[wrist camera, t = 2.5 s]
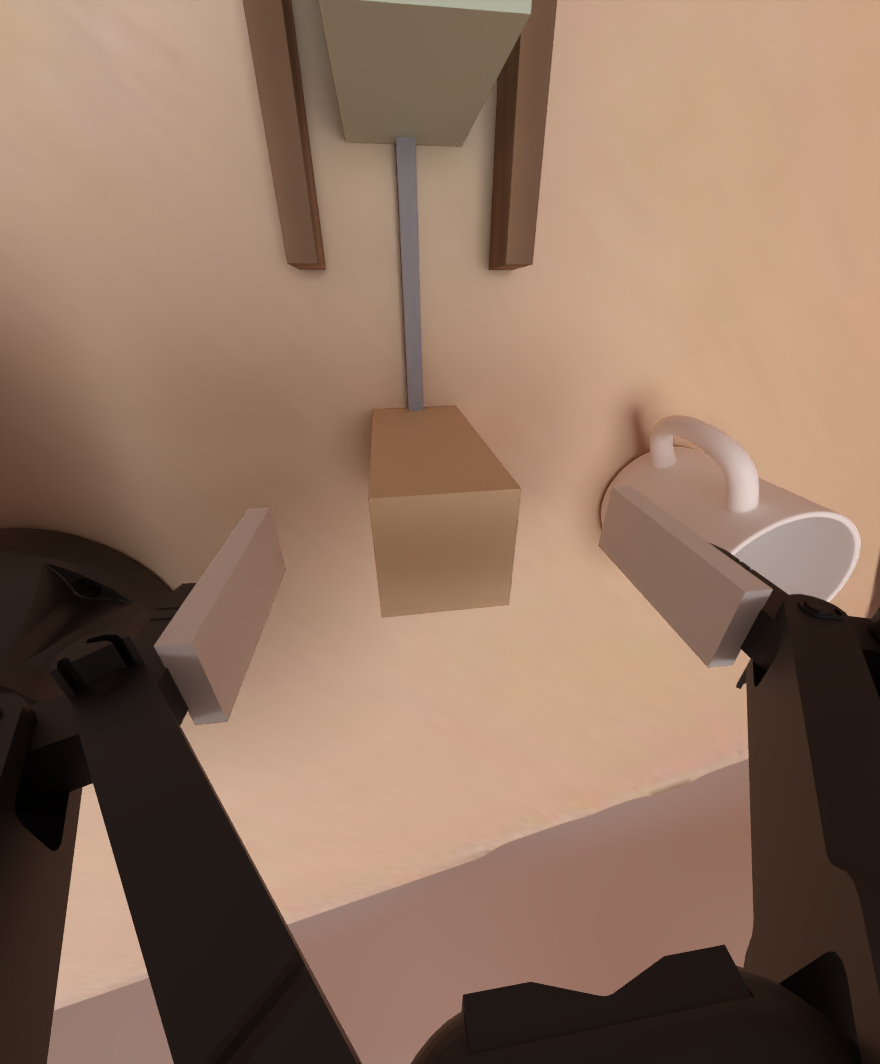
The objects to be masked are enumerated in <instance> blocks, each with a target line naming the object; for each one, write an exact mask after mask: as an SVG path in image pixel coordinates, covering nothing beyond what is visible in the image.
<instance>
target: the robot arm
mask: <svg viewBox="0 0 880 1064" xmlns="http://www.w3.org/2000/svg"><path fill="white" fill-rule="evenodd" d="M598 546H599V547H600V548H601V549H602V550H603V551H604V552H605V553H606V555H607V556H608V557H609V558H610V559H611V560H612V561H613V562H614V563H615V565H616V566H617V567H618V568H619V569H620V570H621V571H622V572H623V573H624V575H625V576H626V577H627V578H628V579H629V580H630V581H631V582H632V583H633V585H634V586H635V587H636V588H637V589H638V590H639V591H640V592H641V594H642V595H643V596H644V597H645V598H646V599H647V600H648V601H649V602H650V604H651V605H652V606H653V607H654V608H655V609H656V610H657V611H658V612H659V614H660V615H661V616H662V617H663V618H664V619H665V620H666V621H667V622H668V624H669V625H670V626H671V627H672V628H673V629H674V630H675V631H676V633H677V634H678V635H679V636H680V637H681V638H682V639H683V640H684V641H685V643H686V644H687V645H688V646H689V647H690V648H691V649H692V650H693V651H694V653H695V654H696V655H697V656H698V657H699V658H700V659H701V660H702V661H703V663H704V664H705V665H706V666H707V667H708V668H710V667H719V666H728V665H733V663H734V661H735V660H736V658H737V656H738V654H739V652H740V650H741V649H742V650H743V651H744V652H745V653H746V654H747V655H748V656H749V657H750V658H751V659H750V661H749V663H748V665H747V667H746V668H745V670H744V672H743V674H742V675H741V677H740V679H739V681H738V683H737V685H736V687H737V688H739V689H741V687H742V685H743V684H745V683H747V716H748V749H749V777H750V778H749V781H750V814H751V847H752V876H753V877H752V879H753V912H754V922H753V932H752V937H751V940H750V943H749V946H748V949H747V952H746V956H745V962H744V968H742V967H739V966H736V965H735V963H734V961H733V960H732V957H731V956H730V954H729V952H728V950H727V948H726V946H725V945H720V946H715V947H711V948H705V949H700V950H695V951H690V952H684V953H679V954H673V955H668V956H664V957H663V958H661V959H660V960H659V961H657V962H656V963H654V964H653V965H652V966H650V967H649V968H648V969H646V970H645V971H643V972H642V973H641V974H640V975H638V976H637V977H635V978H634V979H632V980H631V981H630V982H628V983H627V984H626V985H624V986H623V987H622V988H620V989H619V990H617V991H616V992H615V993H614V994H611V995H609V996H598V995H593V994H588V993H583V992H578V991H573V990H568V989H563V988H558V987H553V986H549V985H544V984H539V983H534V982H528V983H522V984H517V985H512V986H506V987H501V988H496V989H491V990H485V991H480V992H475V993H470V994H465V995H463V1001H462V1011H461V1012H460V1013H458V1014H457V1015H455V1016H454V1017H453V1018H451V1019H450V1020H448V1021H447V1022H446V1023H444V1024H443V1025H442V1026H441V1027H440V1028H439V1029H438V1030H437V1031H436V1032H435V1033H434V1034H433V1035H432V1036H431V1037H430V1038H429V1039H428V1041H427V1042H426V1043H425V1044H424V1046H423V1047H422V1048H421V1049H420V1051H419V1052H418V1053H417V1055H416V1056H415V1058H414V1059H413V1061H412V1062H411V1064H880V607H879V608H878V610H877V611H876V613H875V614H874V615H873V617H872V618H871V619H868V618H860V617H852V616H848V615H847V614H846V613H845V612H844V611H842V610H841V609H840V608H838V607H837V606H835V605H833V604H831V603H829V602H827V601H825V600H822V599H819V598H816V597H813V596H809V595H804V594H791V595H789V594H787V593H786V592H784V591H783V590H782V589H780V588H779V587H777V586H776V585H775V584H773V583H772V582H770V581H769V580H768V579H766V578H765V577H763V576H762V575H760V574H759V573H758V572H756V571H755V570H753V569H750V567H749V566H748V565H746V564H745V563H744V562H740V560H739V559H738V558H737V557H735V556H734V555H732V554H731V553H730V552H728V551H727V550H725V549H722V548H720V547H718V546H716V545H714V544H711V543H709V542H707V541H706V540H704V539H703V538H702V537H700V536H699V535H698V534H696V533H695V532H693V531H692V530H691V529H689V528H688V527H686V526H685V525H684V524H682V523H681V522H680V521H678V520H677V519H675V518H674V517H673V516H671V515H670V514H669V513H667V512H666V511H664V510H663V509H662V508H660V507H659V506H658V505H656V504H655V503H653V502H652V501H651V500H649V499H648V498H647V497H645V496H644V495H642V494H641V493H640V492H638V491H637V490H635V489H634V488H633V487H631V486H617V487H612V489H611V494H610V498H609V502H608V507H607V511H606V515H605V520H604V524H603V528H602V532H601V537H600V541H599V545H598ZM284 572H285V565H284V561H283V557H282V553H281V549H280V545H279V541H278V537H277V533H276V529H275V525H274V521H273V518H272V514H271V510H270V507H261V508H248V509H247V510H246V512H245V513H244V515H243V516H242V518H241V519H240V520H239V522H238V523H237V525H236V526H235V528H234V529H233V531H232V532H231V534H230V535H229V537H228V538H227V539H226V541H225V542H224V544H223V545H222V547H221V548H220V550H219V551H218V553H217V554H216V556H215V557H214V558H213V560H212V561H211V563H210V564H209V566H208V567H207V569H206V570H205V572H204V573H203V575H202V576H201V577H200V579H199V580H198V582H197V583H189V584H182V585H181V586H179V587H178V588H177V589H175V590H174V591H173V592H172V591H171V590H170V589H169V588H168V587H167V586H166V585H165V584H164V583H163V582H162V581H161V580H159V579H158V578H157V577H156V576H155V575H153V574H152V573H151V572H150V571H148V570H147V569H145V568H144V567H143V566H141V565H140V564H138V563H136V562H135V561H133V560H131V559H130V558H128V557H126V556H124V555H122V554H120V553H118V552H116V551H114V550H112V549H110V548H107V547H105V546H102V545H100V544H97V543H95V542H92V541H89V540H86V539H82V538H79V537H75V536H71V535H67V534H63V533H58V532H52V531H45V530H37V529H18V528H13V529H0V1064H47V1056H48V1049H49V1042H50V1034H51V1026H52V1018H53V1011H54V1003H55V995H56V987H57V980H58V972H59V964H60V956H61V949H62V941H63V933H64V926H65V918H66V910H67V902H68V895H69V887H70V879H71V871H72V864H73V856H74V848H75V840H76V833H77V825H78V817H79V809H80V802H81V794H82V787H84V786H87V785H89V784H92V783H93V785H94V788H95V792H96V795H97V798H98V802H99V805H100V809H101V812H102V816H103V819H104V823H105V826H106V830H107V833H108V837H109V840H110V844H111V847H112V850H113V854H114V857H115V861H116V864H117V868H118V871H119V875H120V878H121V882H122V885H123V889H124V892H125V896H126V899H127V903H128V906H129V909H130V913H131V916H132V920H133V923H134V927H135V930H136V934H137V937H138V941H139V944H140V948H141V951H142V955H143V958H144V961H145V965H146V968H147V972H148V975H149V978H150V982H151V986H152V989H153V992H154V996H155V999H156V1003H157V1006H158V1010H159V1013H160V1016H161V1020H162V1024H163V1027H164V1031H165V1034H166V1037H167V1041H168V1044H169V1048H170V1052H171V1055H172V1059H173V1062H174V1064H362V1063H361V1061H360V1059H359V1057H358V1055H357V1053H356V1051H355V1050H354V1048H353V1046H352V1044H351V1042H350V1040H349V1038H348V1037H347V1035H346V1033H345V1031H344V1029H343V1028H342V1026H341V1024H340V1022H339V1020H338V1019H337V1017H336V1015H335V1013H334V1011H333V1009H332V1007H331V1006H330V1004H329V1002H328V1000H327V998H326V996H325V995H324V993H323V991H322V989H321V987H320V985H319V983H318V982H317V980H316V978H315V976H314V974H313V972H312V970H311V969H310V967H309V965H308V963H307V961H306V959H305V958H304V956H303V954H302V952H301V950H300V948H299V946H298V944H297V943H296V941H295V939H294V937H293V935H292V933H291V931H290V930H289V928H288V926H287V924H286V922H285V920H284V918H283V916H282V915H281V913H280V911H279V909H278V907H277V905H276V903H275V902H274V900H273V898H272V896H271V894H270V892H269V890H268V889H267V887H266V885H265V883H264V881H263V879H262V877H261V876H260V874H259V872H258V870H257V868H256V866H255V864H254V863H253V861H252V859H251V857H250V855H249V853H248V851H247V850H246V848H245V846H244V844H243V842H242V840H241V838H240V837H239V835H238V833H237V831H236V829H235V827H234V825H233V823H232V822H231V820H230V818H229V816H228V814H227V812H226V810H225V809H224V807H223V805H222V803H221V801H220V799H219V797H218V796H217V794H216V792H215V790H214V788H213V786H212V784H211V783H210V781H209V779H208V777H207V775H206V773H205V771H204V770H203V768H202V766H201V764H200V762H199V760H198V758H197V757H196V755H195V753H194V751H193V749H192V747H191V745H190V744H189V742H188V740H187V738H186V736H185V734H184V732H183V731H182V729H181V727H180V725H181V723H182V721H183V719H184V717H185V715H186V713H187V711H188V712H189V714H190V716H191V718H192V720H193V722H194V723H195V725H201V724H210V723H219V722H228V719H229V716H230V714H231V711H232V708H233V706H234V703H235V701H236V698H237V695H238V693H239V690H240V687H241V685H242V682H243V679H244V677H245V674H246V672H247V669H248V666H249V664H250V661H251V658H252V656H253V653H254V651H255V648H256V645H257V643H258V640H259V637H260V635H261V632H262V630H263V627H264V624H265V622H266V619H267V616H268V614H269V611H270V609H271V606H272V603H273V601H274V598H275V595H276V593H277V590H278V588H279V585H280V582H281V580H282V577H283V574H284Z"/></svg>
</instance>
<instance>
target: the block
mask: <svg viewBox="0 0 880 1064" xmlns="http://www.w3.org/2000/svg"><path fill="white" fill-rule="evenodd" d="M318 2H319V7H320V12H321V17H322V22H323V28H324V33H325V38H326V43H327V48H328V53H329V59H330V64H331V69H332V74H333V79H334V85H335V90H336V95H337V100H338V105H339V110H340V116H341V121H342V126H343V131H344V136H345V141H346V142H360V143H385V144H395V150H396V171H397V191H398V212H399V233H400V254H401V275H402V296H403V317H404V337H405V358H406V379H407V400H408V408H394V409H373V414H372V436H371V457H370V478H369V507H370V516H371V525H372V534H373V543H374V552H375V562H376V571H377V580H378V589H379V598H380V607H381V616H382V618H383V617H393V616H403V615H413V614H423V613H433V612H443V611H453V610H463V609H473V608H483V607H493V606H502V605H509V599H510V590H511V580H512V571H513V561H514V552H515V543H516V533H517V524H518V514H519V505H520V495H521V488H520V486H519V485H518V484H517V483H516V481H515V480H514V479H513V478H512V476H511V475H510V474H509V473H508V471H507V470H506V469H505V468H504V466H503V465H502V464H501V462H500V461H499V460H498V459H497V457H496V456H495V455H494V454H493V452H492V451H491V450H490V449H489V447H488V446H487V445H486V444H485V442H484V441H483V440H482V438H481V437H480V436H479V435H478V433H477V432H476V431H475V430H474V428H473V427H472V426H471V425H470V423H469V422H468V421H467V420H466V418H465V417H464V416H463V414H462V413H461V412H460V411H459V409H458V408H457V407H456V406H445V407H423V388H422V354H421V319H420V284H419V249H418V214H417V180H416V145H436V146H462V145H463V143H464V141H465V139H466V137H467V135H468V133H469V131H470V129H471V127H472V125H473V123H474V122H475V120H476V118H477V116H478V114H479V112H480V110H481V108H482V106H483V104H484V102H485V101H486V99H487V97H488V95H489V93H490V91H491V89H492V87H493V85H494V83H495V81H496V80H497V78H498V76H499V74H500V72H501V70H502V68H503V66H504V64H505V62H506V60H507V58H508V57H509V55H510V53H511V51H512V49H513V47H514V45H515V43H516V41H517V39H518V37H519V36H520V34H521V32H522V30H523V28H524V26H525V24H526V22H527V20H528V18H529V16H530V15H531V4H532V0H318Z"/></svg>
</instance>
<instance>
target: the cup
mask: <svg viewBox="0 0 880 1064" xmlns="http://www.w3.org/2000/svg"><path fill="white" fill-rule="evenodd" d="M673 436H678V437H681V438H683V439H686V440H688V441H690V442H692V443H693V444H695V445H697V446H698V447H700V448H701V449H703V450H704V451H706V452H707V453H708V454H709V455H710V456H709V455H707V454H705V453H702V452H700V451H697V450H694V449H691V448H686V447H677V446H675V447H673ZM617 486H631V487H633V488H634V489H635V490H637V491H638V492H640V493H641V494H642V495H644V496H645V497H647V498H648V499H649V500H651V501H652V502H653V503H655V504H656V505H658V506H659V507H660V508H662V509H663V510H664V511H666V512H667V513H669V514H670V515H671V516H673V517H674V518H675V519H677V520H678V521H680V522H681V523H682V524H684V525H685V526H686V527H688V528H689V529H691V530H692V531H693V532H695V533H696V534H698V535H699V536H700V537H702V538H703V539H704V540H706V541H707V542H709V543H711V544H714V545H716V546H718V547H720V548H722V549H725V550H727V551H728V552H730V553H731V554H732V555H734V556H735V557H737V558H738V559H739V560H740V562H744V563H745V564H746V565H748V566H749V567H750V569H753V570H755V571H756V572H758V573H759V574H760V575H762V576H763V577H765V578H766V579H768V580H769V581H770V582H772V583H773V584H775V585H776V586H777V587H779V588H780V589H782V590H783V591H784V592H786V593H787V594H789V595H791V594H804V595H809V596H813V597H816V598H819V599H822V600H825V601H827V602H830V601H831V600H832V599H833V598H834V596H835V595H836V594H837V593H838V592H839V591H840V590H841V588H842V587H843V586H844V584H845V583H846V582H847V580H848V579H849V577H850V575H851V574H852V572H853V570H854V568H855V566H856V563H857V561H858V557H859V553H860V547H861V541H860V535H859V532H858V530H857V528H856V526H855V525H854V523H853V522H852V521H851V520H850V519H848V518H847V517H845V516H843V515H841V514H839V513H836V512H834V511H832V510H830V509H828V508H825V507H823V506H821V505H819V504H816V503H814V502H812V501H810V500H807V499H805V498H803V497H801V496H799V495H796V494H794V493H792V492H790V491H787V490H785V489H783V488H781V487H778V486H776V485H774V484H772V483H769V482H767V481H765V480H763V479H761V478H758V474H757V470H756V467H755V465H754V463H753V461H752V459H751V457H750V456H749V455H748V453H747V452H746V451H745V450H744V449H743V448H742V447H741V446H740V445H739V444H738V443H737V442H736V441H735V440H734V439H732V438H731V437H730V436H728V435H727V434H725V433H724V432H722V431H721V430H719V429H717V428H715V427H714V426H712V425H710V424H708V423H705V422H703V421H701V420H698V419H695V418H692V417H688V416H680V415H673V416H668V417H665V418H663V419H662V420H660V421H659V422H658V423H657V424H656V425H655V426H654V428H653V430H652V432H651V436H650V452H648V453H646V454H643V455H641V456H640V457H638V458H636V459H635V460H633V461H632V462H630V463H629V464H628V465H627V466H625V467H624V468H623V469H622V470H621V471H620V472H619V473H618V474H617V476H616V477H615V478H614V479H613V481H612V482H611V484H610V485H609V487H608V489H607V491H606V493H605V496H604V499H603V502H602V507H601V523H602V528H603V524H604V520H605V515H606V511H607V507H608V502H609V498H610V494H611V489H612V487H617Z"/></svg>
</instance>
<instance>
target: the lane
mask: <svg viewBox="0 0 880 1064" xmlns="http://www.w3.org/2000/svg"><path fill="white" fill-rule="evenodd" d="M243 4H244V10H245V16H246V22H247V28H248V34H249V40H250V46H251V51H252V57H253V63H254V69H255V75H256V81H257V87H258V93H259V99H260V105H261V111H262V116H263V122H264V128H265V134H266V140H267V146H268V152H269V158H270V164H271V170H272V176H273V181H274V187H275V193H276V199H277V205H278V211H279V217H280V223H281V229H282V235H283V240H284V246H285V252H286V258H287V263H288V264H290V265H292V266H294V267H296V268H298V269H326V267H325V259H324V251H323V243H322V236H321V228H320V220H319V212H318V205H317V197H316V189H315V181H314V174H313V166H312V158H311V150H310V143H309V135H308V127H307V119H306V112H305V104H304V96H303V88H302V81H301V73H300V65H299V57H298V50H297V42H296V34H295V26H294V19H293V11H292V3H291V0H243ZM556 6H557V0H532V4H531V15H530V16H529V18H528V20H527V22H526V24H525V26H524V28H523V30H522V32H521V34H520V36H519V37H518V39H517V41H516V43H515V45H514V47H513V49H512V51H511V53H510V55H509V57H508V58H507V60H506V62H505V64H504V66H503V68H502V70H501V72H500V74H499V76H498V89H497V110H496V132H495V153H494V175H493V196H492V217H491V239H490V260H489V270H514V269H517V268H521V267H525V266H528V265H532V264H533V254H534V243H535V232H536V221H537V211H538V200H539V189H540V178H541V167H542V157H543V146H544V135H545V124H546V114H547V103H548V92H549V81H550V70H551V60H552V49H553V38H554V27H555V17H556Z"/></svg>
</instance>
